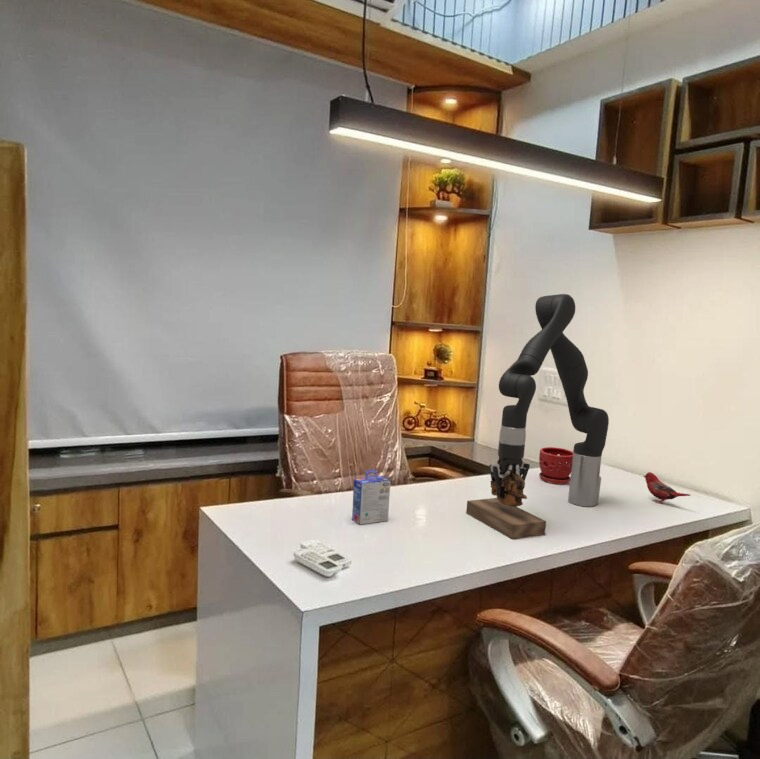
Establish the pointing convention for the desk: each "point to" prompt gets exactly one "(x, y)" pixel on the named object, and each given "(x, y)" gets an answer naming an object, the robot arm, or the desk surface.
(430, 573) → the desk surface
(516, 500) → the wooden carving
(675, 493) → the decorative bird figurine
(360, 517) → the ink cartridge box
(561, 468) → the plant pot
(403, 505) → the desk surface
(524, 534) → the walnut plinth
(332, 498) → the desk surface
